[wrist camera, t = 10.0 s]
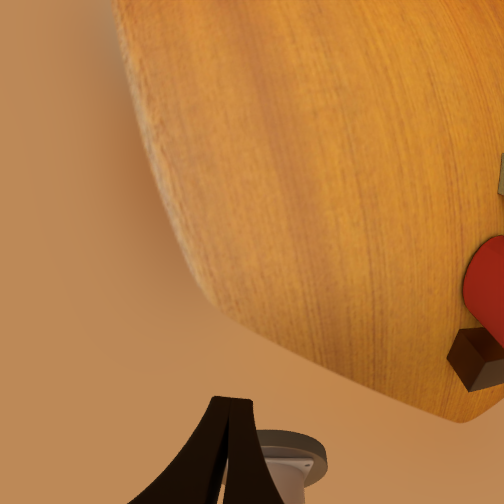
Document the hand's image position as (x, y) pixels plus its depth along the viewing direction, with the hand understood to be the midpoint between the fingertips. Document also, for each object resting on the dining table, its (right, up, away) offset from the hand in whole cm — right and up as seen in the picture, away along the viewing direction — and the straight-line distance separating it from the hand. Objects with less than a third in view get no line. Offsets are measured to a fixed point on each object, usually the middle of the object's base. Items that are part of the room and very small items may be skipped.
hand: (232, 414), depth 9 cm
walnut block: (+21, -2, +9) cm, 23 cm away
